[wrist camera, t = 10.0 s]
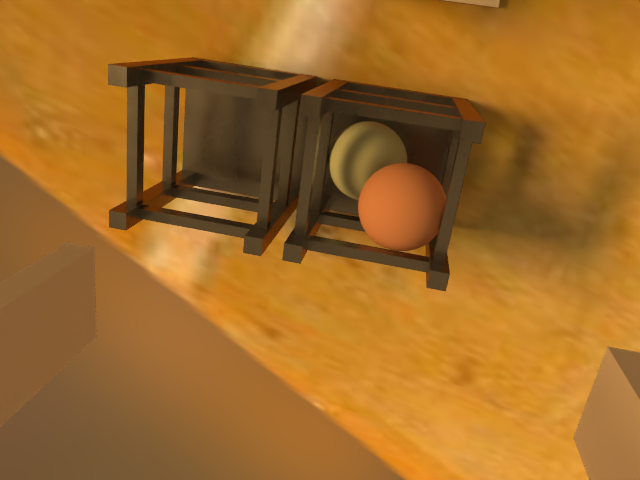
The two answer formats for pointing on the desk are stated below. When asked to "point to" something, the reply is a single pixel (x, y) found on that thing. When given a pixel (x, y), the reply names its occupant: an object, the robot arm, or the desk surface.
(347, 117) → the dark open frame crate
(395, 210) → the ball terracotta
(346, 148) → the ball sage
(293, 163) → the wireframe cube
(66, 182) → the desk surface
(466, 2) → the card
